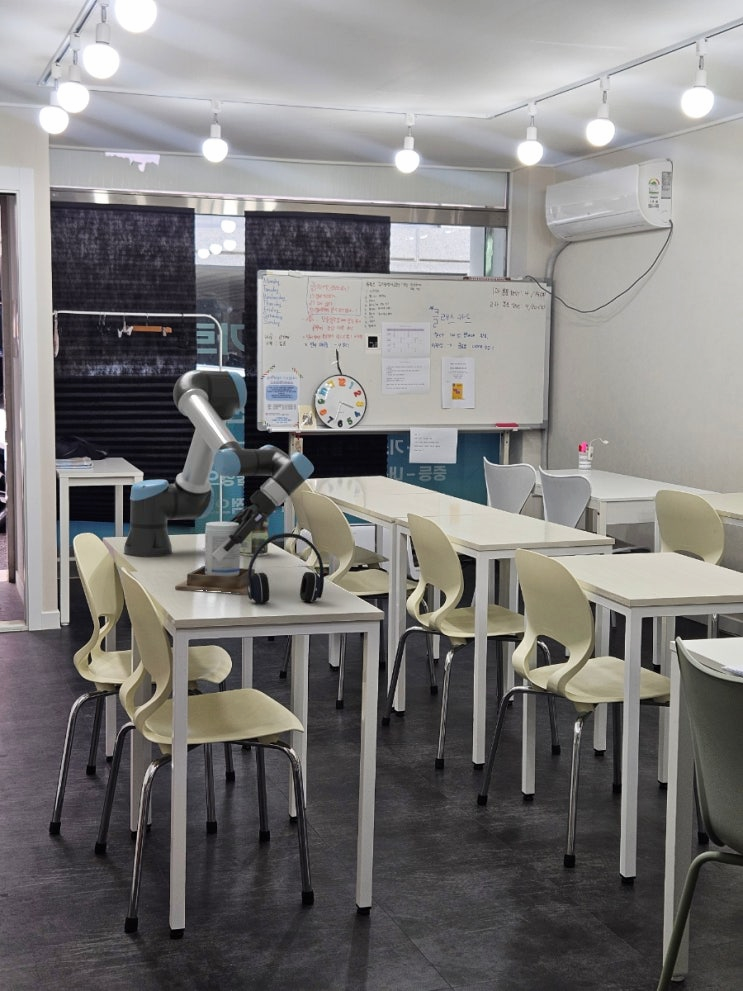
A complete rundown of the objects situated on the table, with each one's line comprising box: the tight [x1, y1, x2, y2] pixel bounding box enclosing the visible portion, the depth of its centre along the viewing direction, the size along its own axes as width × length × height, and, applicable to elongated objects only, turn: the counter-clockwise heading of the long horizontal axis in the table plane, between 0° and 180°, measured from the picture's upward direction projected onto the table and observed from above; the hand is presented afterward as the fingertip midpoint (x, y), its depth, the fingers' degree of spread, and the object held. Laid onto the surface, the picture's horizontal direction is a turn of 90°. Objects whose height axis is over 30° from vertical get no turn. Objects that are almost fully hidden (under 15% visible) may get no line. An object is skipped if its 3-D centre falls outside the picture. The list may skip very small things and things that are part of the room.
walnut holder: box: [174, 565, 256, 595], centre depth 328 cm, size 20×20×4 cm
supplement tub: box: [204, 521, 241, 577], centre depth 327 cm, size 10×10×15 cm
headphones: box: [247, 532, 325, 604], centre depth 308 cm, size 20×7×18 cm, turn 108°
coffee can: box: [237, 509, 270, 557], centre depth 386 cm, size 10×10×14 cm
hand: (211, 555), depth 326 cm, fingers closed on supplement tub, 9 cm apart
